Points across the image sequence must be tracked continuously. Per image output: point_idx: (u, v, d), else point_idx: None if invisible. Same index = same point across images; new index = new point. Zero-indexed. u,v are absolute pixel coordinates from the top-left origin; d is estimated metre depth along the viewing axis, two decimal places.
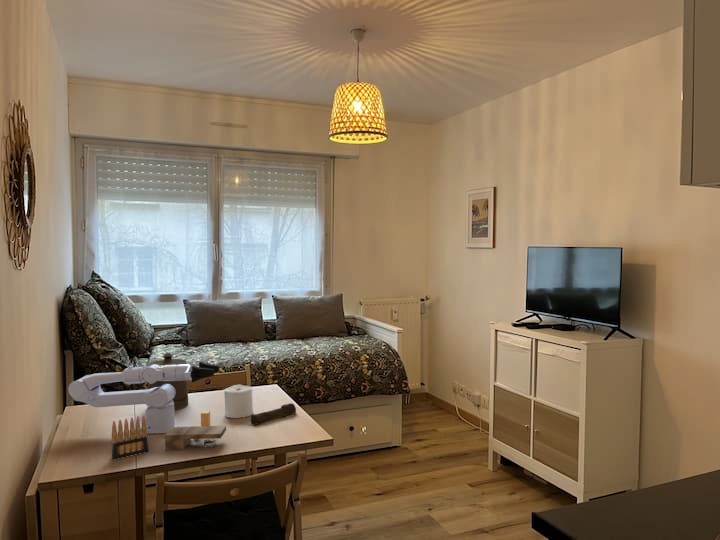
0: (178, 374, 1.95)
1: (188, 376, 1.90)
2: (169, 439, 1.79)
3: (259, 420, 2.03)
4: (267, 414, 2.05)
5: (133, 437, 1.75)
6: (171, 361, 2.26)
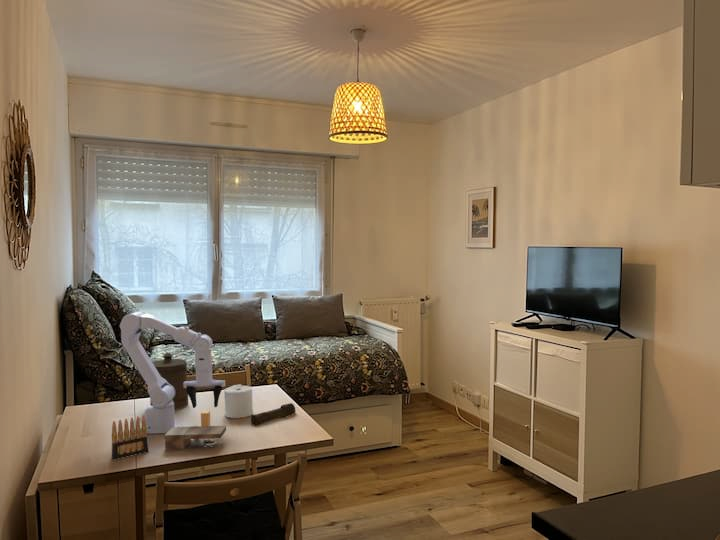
0: (211, 371, 1.98)
1: (224, 385, 1.98)
2: (169, 439, 1.79)
3: (259, 420, 2.03)
4: (267, 414, 2.05)
5: (133, 437, 1.75)
6: (171, 361, 2.26)
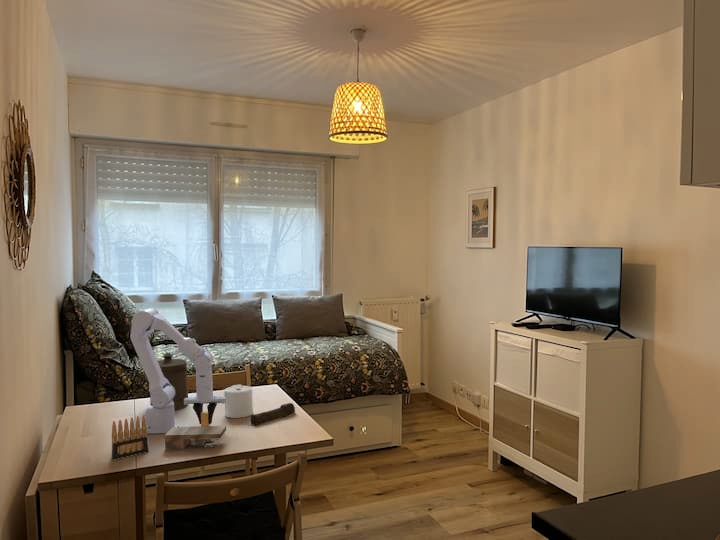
0: (212, 388, 1.98)
1: (225, 401, 1.99)
2: (169, 439, 1.79)
3: (259, 420, 2.03)
4: (267, 414, 2.05)
5: (133, 437, 1.75)
6: (171, 361, 2.26)
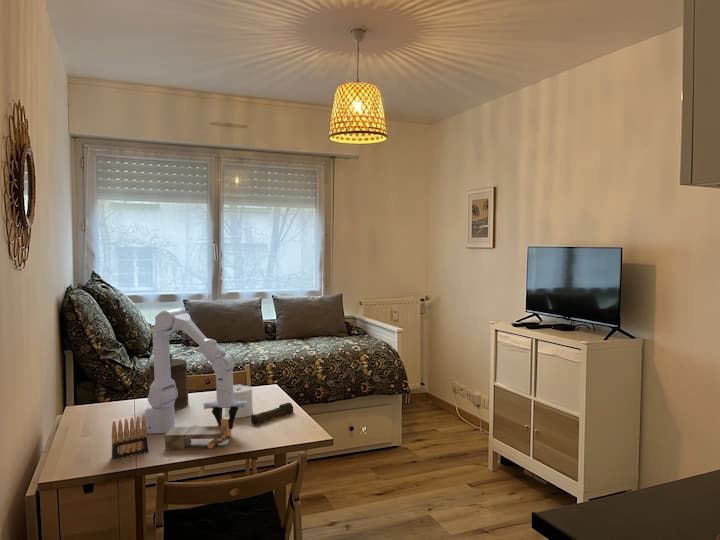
0: (233, 392, 1.90)
1: (246, 406, 1.91)
2: (169, 439, 1.79)
3: (260, 420, 2.03)
4: (267, 414, 2.05)
5: (133, 437, 1.75)
6: (171, 361, 2.26)
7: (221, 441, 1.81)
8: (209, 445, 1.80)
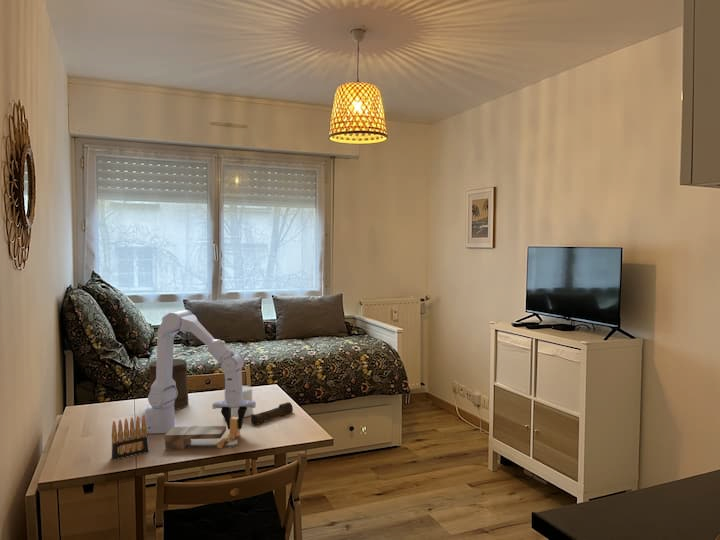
0: (241, 392, 1.90)
1: (255, 405, 1.91)
2: (169, 439, 1.79)
3: (260, 420, 2.03)
4: (267, 414, 2.05)
5: (133, 437, 1.75)
6: None
7: (229, 441, 1.81)
8: (218, 445, 1.80)
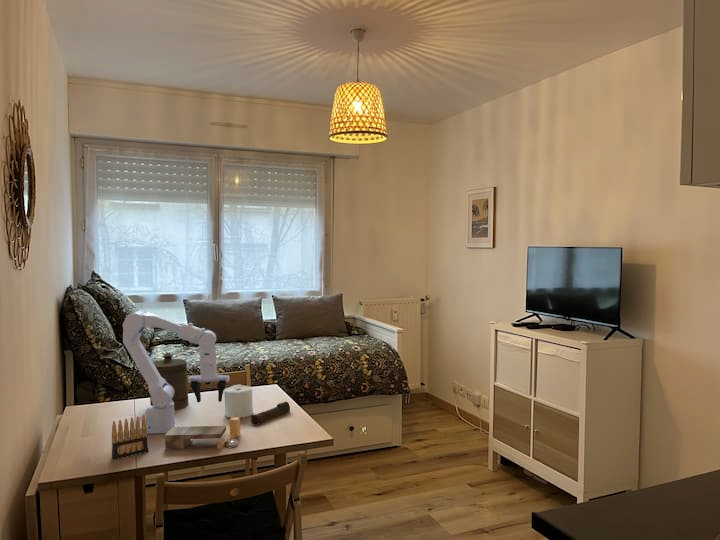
0: (216, 366, 1.99)
1: (228, 380, 2.00)
2: (169, 439, 1.79)
3: (260, 420, 2.03)
4: (267, 413, 2.06)
5: (133, 437, 1.75)
6: (171, 361, 2.26)
7: (230, 442, 1.81)
8: (218, 445, 1.80)
